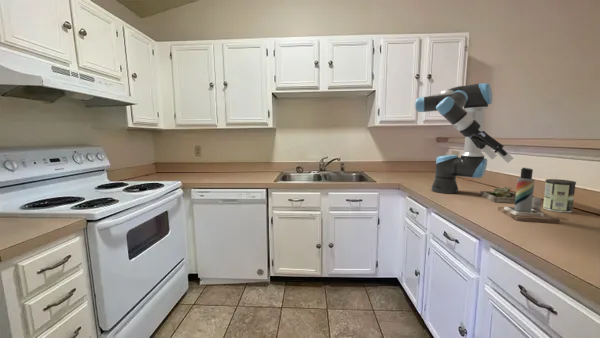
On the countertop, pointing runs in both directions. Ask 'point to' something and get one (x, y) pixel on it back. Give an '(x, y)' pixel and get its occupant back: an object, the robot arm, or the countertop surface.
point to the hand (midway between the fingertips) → (502, 158)
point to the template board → (533, 216)
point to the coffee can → (559, 195)
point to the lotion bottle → (524, 191)
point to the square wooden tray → (499, 199)
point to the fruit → (501, 192)
